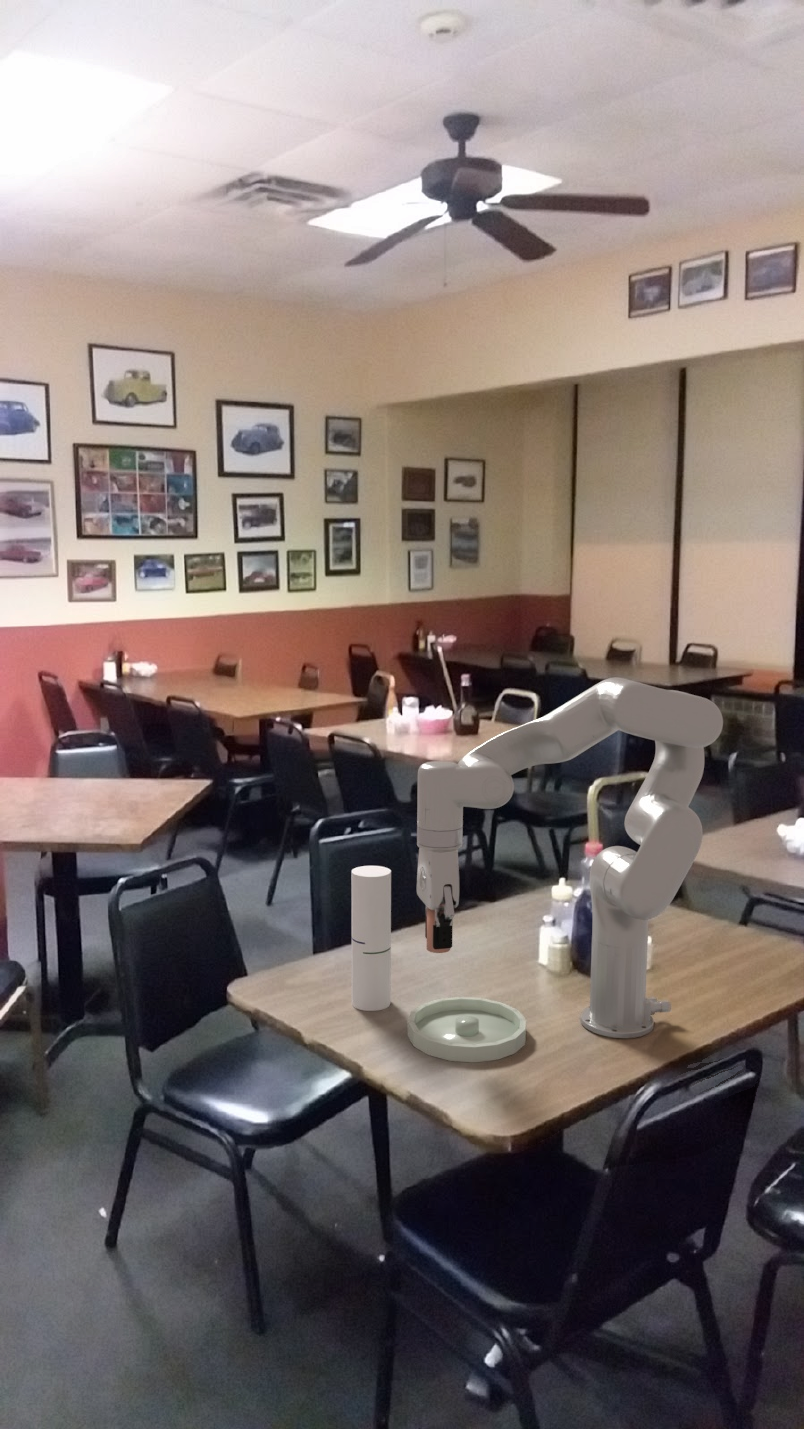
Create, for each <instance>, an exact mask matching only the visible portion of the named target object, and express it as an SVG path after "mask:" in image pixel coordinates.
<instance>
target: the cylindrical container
mask: <svg viewBox="0 0 804 1429" xmlns="http://www.w3.org/2000/svg"><path fill="white" fill-rule="evenodd" d="M350 876H351V879H350V880H351V1005H352V1007H353V1008H355V1009H357V1010H360V1011H365V1012H376V1011H381V1010H385V1009H387V1008H388V1007H390V1006H391V996H392V995H391V992H392V991H391V990H392V988H391V987H392V986H391V983H392V982H391V974H392V973H391V971H392V970H391V969H392V968H391V967H392V966H391V965H392V964H391V963H392V962H391V961H392V960H391V959H392V958H391V957H392V954H391V953H392V948H391V947H392V946H391V944H392V943H391V942H392V933H391V931H392V929H391V928H392V912H391V911H392V870H391V869H390V868H388V867H387V866H386V867H385V866H382V865H363V866H357V867H355V868H352V869H351V875H350Z"/></svg>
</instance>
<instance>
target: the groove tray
mask: <svg viewBox="0 0 804 1429" xmlns="http://www.w3.org/2000/svg"><path fill="white" fill-rule="evenodd" d="M526 1034H527V1018H525V1016H524V1015H523V1014H522V1013H521V1012H520V1011H519V1009H517V1008H514V1007H512V1006H511V1005H508V1004H506V1003H504V1002H501V1001H498V1000H497V1001H496V1000H493V999H489V998H486V997H485V998H484V997H476V996H475V997H474V996H473V997H471V996H454V997H453V996H452V997H444V998H438V999H434V1000H431V1001H427V1002H424V1003H421V1004H420V1005H418V1006H417V1007H416V1008H414V1009H413V1010H412V1011H410V1013H409V1017H408V1019H407V1038H408V1039H409V1041H410V1043H411V1045H412V1046H413V1047H415V1048H416V1049H417V1050H420V1051H421V1052H423V1053H424V1054H425V1055H427V1056H430V1057H431V1056H432V1057H434V1058H437V1059H438V1058H439V1059H442V1060H445V1061H449V1062H462V1063H464V1062H466V1063H480V1062H490V1061H491V1062H492V1061H498V1060H501V1059H503V1058H506V1057H509V1056H511V1055H514V1054H516V1053H517V1052H519V1051H520V1050H521V1048H523V1047H524V1046H525V1045H526V1036H527V1035H526Z"/></svg>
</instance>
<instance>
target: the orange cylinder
mask: <svg viewBox="0 0 804 1429" xmlns="http://www.w3.org/2000/svg"><path fill="white" fill-rule="evenodd" d="M441 906H444V904H443V905H439V907H441ZM439 913H440V915H441V914H442V913H444V911H439ZM426 916H427V939H426V950H427V951H428V952H430V953H435V954H443V953H448V952H450V951H451V948H446V949H434V948H433V925H435V910H431V909H429V908H428V907H427V915H426Z"/></svg>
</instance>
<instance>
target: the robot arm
mask: <svg viewBox="0 0 804 1429" xmlns="http://www.w3.org/2000/svg"><path fill="white" fill-rule="evenodd" d="M723 725H724V718H723V714H722V712H721V710H720V708H719V707H718V705H717V704H715V703H714V702H713V701H711V700H710V699H708V698H706V697H704V696H703V697H702V696H699V695H696V694H695V695H694V694H691V693H689V692H685V691H679V690H674V689H664V688H660V687H656V686H653V685H649V684H646V683H642V682H639V681H636V680H632V679H629V678H624V677H617V676H616V677H615V676H614V677H609V678H605V679H603V680H601V681H600V682H598V683H596V684H594V685H592V686H591V687H589V688H588V689H586V690H584V691H583V692H581V693H580V694H578V695H576V696H575V697H573V698H571V699H570V700H568V701H567V702H565V703H564V704H562V705H560V706H558V707H557V708H555V709H553V710H552V711H550V712H549V713H547V714H545V715H543V716H542V717H539V718H536V719H534V720H531V721H529V722H526V723H523V724H522V725H519V726H517V727H514V728H512V729H510V730H509V729H508V730H507V731H504V732H502V733H501V734H498V735H496V736H494V737H492V738H490V739H489V740H487V741H486V742H484V743H482V744H481V745H479V746H477V747H476V748H474V749H473V750H470V752H468V753H466V754H465V755H464V756H463V757H461V759H460V760H459V761H458V762H453V761H447V760H446V761H445V760H434V761H433V760H431V761H427V762H425V763H422V764H421V765H419V767H418V770H417V797H416V798H417V802H416V803H417V810H416V811H417V812H416V814H417V817H416V818H417V819H416V822H417V823H416V825H417V826H416V845H417V848H419V849H418V857H417V859H418V860H417V872H416V874H417V875H416V895H417V896H418V898H419V899H420V901H422V903H423V904H424V905H425V918H424V919H425V921H424V922H425V924H424V926H425V927H424V928H425V930H424V931H425V932H424V933H425V934H424V936H425V939H426V940H427V907H428V908H429V909H431V910H435V925H433V948H434V949H446V948H450V949H452V947H453V924H454V921H453V920H454V917H455V909H456V908H457V907H458V906H459V902H460V871H459V870H460V867H459V863H460V861H459V851H458V850H459V849H461V848H462V847H463V841H464V840H463V837H464V836H463V833H464V831H463V828H464V826H463V825H464V820H463V819H464V817H463V816H464V807H465V808H475V809H476V808H477V809H483V810H484V809H485V810H491V809H492V810H493V809H494V810H495V809H497V808H500V807H501V808H502V806H504V805H506V804H507V803H508V802H509V801H510V800H511V798H512V797H513V794H514V790H515V784H514V780H513V777H512V775H514V774H516V773H518V772H520V771H522V770H526V769H527V768H531V767H533V766H539V765H545V764H558V763H564V762H567V761H570V760H573V759H575V758H576V757H577V756H579V755H581V754H582V753H584V752H585V751H587V750H588V749H590V748H591V747H593V746H595V745H597V744H598V743H600V742H602V741H603V740H605V739H606V738H608V737H609V736H611V735H613V734H614V733H616V732H618V731H620V732H623V733H626V734H629V735H632V736H635V737H639V738H644V739H647V740H652V741H654V743H655V754H654V759H653V762H652V764H651V766H650V769H649V771H648V773H647V774H646V777H645V779H644V781H643V782H642V784H641V785H640V788H639V789H638V792H637V793H636V795H635V797H634V798H633V801H632V803H631V804H630V806H629V808H628V810H627V812H626V814H625V817H624V824H623V825H624V830H625V831H626V834H627V835H628V836H629V838H630V839H631V840H632V841H633V842H635V843H636V844H638V845H640V846H639V848H638V850H637V851H636V850H634V849H632V848H629V847H626V846H620V845H614V846H609V847H606V848H604V849H602V850H601V851H599V852H598V853H597V855H596V856H595V857H594V858H593V861H592V863H591V866H590V871H589V890H590V897H591V898H590V899H591V907H592V908H591V909H592V927H591V928H592V933H591V934H592V935H591V954H590V955H591V957H590V958H591V961H590V989H589V1006H587V1007H585V1008H584V1009H583V1010H582V1011H581V1013H580V1024H581V1025H582V1026H583V1027H584V1028H585V1029H586V1030H588V1031H589V1032H591V1033H594V1034H595V1035H596V1034H597V1035H600V1036H603V1037H608V1038H615V1039H633V1038H640V1037H643V1036H645V1035H647V1034H649V1033H651V1032H652V1030H653V1029H654V1025H655V1024H654V1023H655V1022H654V1018H653V1016H654V1015H656V1014H655V1013H668V1012H671V1009H672V1005H671V1002H670V1001H669V1000H668V999H667V1000H658V999H657V997H655V996H651V997H648V998H647V997H646V995H647V994H646V992H647V991H646V989H647V968H648V967H647V964H648V943H649V920H651V919H655V918H656V917H658V916H660V915H661V914H662V913H664V912H665V910H666V909H667V908H668V907H669V906H670V904H671V903H672V901H673V900H674V898H675V896H676V895H677V893H678V891H679V889H680V887H681V886H682V884H683V882H684V880H685V878H686V877H687V874H688V873H689V871H690V869H691V867H692V865H693V864H694V862H695V860H696V857H697V856H698V854H699V852H700V849H701V846H702V842H703V835H704V834H703V826H702V825H703V824H702V822H701V819H700V818H699V817H700V816H698V814H697V813H696V812H695V811H694V810H693V809H692V808H690V807H689V806H690V804H691V802H692V800H693V799H694V796H695V793H696V792H697V789H698V788H699V785H700V782H701V780H702V778H703V774H704V768H705V749H704V748H706V747H708V746H710V745H712V744H713V743H714V742H716V740H717V739H718V738H719V737H720V734H721V733H722V731H723ZM439 905H444V906H441V907H439ZM439 911H444V913H442V914H441V915H440V913H439Z"/></svg>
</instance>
